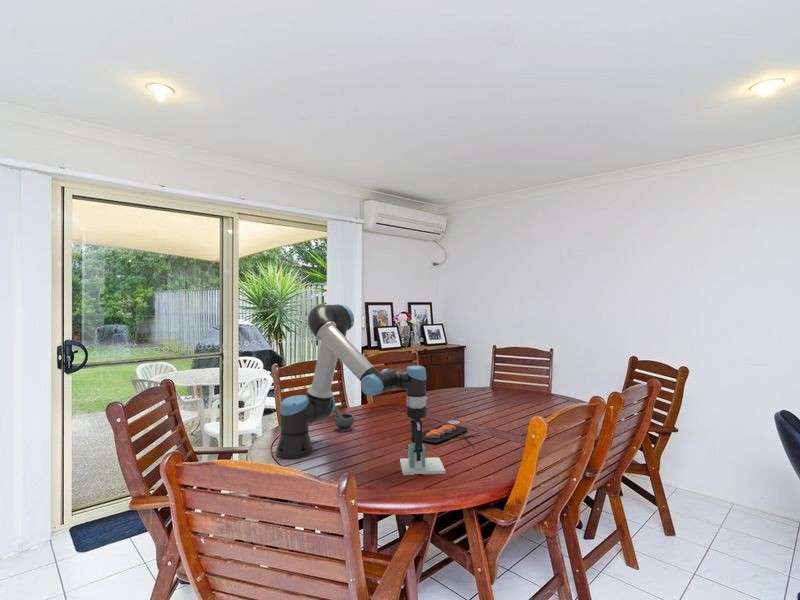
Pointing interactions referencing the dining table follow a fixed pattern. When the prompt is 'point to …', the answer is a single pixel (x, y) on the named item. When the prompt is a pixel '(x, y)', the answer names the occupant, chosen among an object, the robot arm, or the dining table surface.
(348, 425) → the mortar and pestle
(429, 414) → the dining table surface
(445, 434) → the sushi plate
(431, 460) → the stud board
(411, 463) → the cap
